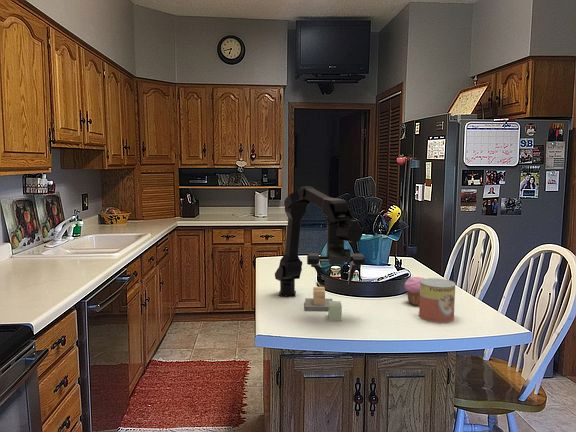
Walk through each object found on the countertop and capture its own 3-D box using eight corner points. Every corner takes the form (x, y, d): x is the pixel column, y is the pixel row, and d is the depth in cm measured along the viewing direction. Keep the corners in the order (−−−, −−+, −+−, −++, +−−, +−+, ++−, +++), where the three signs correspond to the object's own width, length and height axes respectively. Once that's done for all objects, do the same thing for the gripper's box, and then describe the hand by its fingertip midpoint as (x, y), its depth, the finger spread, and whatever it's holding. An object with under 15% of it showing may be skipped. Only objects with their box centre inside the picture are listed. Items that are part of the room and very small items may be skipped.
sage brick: (328, 315, 158) (328, 301, 158) (340, 315, 158) (340, 301, 158) (329, 321, 152) (329, 306, 152) (341, 321, 152) (341, 306, 152)
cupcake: (399, 301, 173) (400, 275, 172) (418, 299, 177) (419, 273, 175) (415, 308, 165) (415, 281, 164) (434, 305, 168) (435, 278, 167)
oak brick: (313, 300, 170) (313, 286, 170) (324, 300, 170) (324, 286, 169) (313, 305, 164) (313, 291, 164) (324, 305, 164) (324, 291, 163)
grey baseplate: (305, 302, 172) (305, 298, 172) (332, 302, 172) (332, 298, 172) (305, 310, 163) (305, 306, 162) (333, 311, 162) (333, 307, 162)
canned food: (434, 325, 148) (435, 288, 147) (411, 314, 159) (412, 280, 157) (461, 320, 153) (463, 284, 152) (437, 310, 163) (439, 276, 162)
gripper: (307, 242, 145) (307, 291, 146) (367, 242, 144) (366, 291, 146) (307, 236, 156) (307, 281, 157) (363, 236, 155) (362, 282, 157)
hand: (335, 284), depth 154 cm, fingers open, 9 cm apart
